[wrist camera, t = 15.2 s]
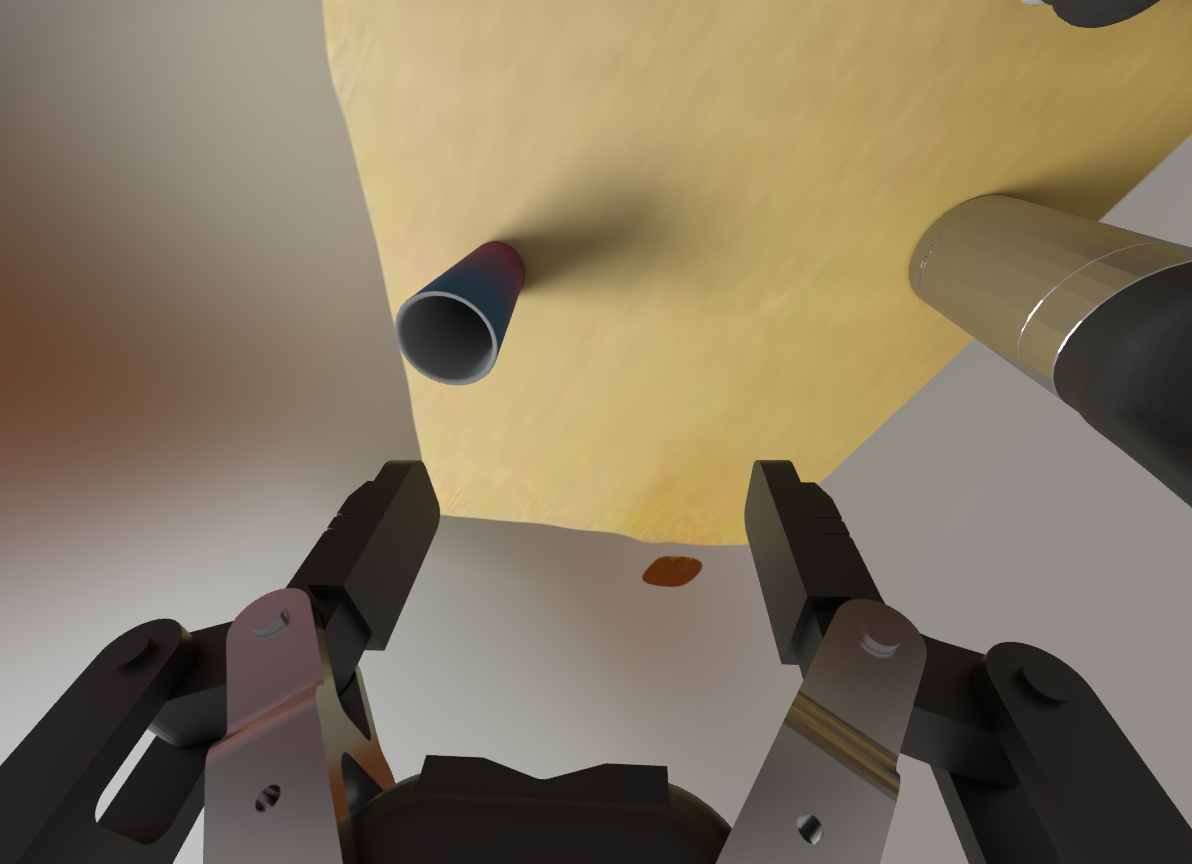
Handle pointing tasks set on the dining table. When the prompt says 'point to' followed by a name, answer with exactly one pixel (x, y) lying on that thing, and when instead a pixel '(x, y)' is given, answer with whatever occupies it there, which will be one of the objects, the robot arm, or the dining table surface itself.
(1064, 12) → the light bulb
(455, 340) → the cup
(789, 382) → the dining table surface
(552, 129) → the dining table surface
